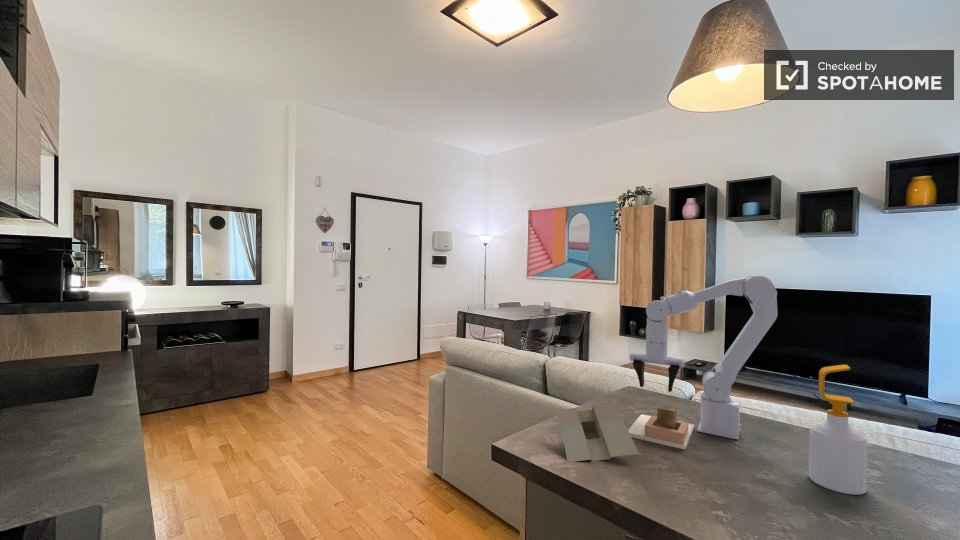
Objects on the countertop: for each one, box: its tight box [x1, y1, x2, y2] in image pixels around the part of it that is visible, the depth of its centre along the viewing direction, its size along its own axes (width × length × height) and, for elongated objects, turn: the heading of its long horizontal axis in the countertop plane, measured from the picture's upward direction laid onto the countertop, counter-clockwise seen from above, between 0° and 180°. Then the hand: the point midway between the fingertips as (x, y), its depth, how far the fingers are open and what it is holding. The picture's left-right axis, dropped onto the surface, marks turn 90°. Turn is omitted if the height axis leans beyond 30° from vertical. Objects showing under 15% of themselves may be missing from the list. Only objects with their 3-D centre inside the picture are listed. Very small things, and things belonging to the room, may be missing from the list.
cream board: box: [628, 414, 695, 451], centre depth 110 cm, size 14×17×1 cm
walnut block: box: [656, 404, 678, 430], centre depth 106 cm, size 4×4×7 cm
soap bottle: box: [808, 364, 868, 496], centre depth 84 cm, size 9×9×25 cm
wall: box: [556, 403, 639, 463], centre depth 100 cm, size 16×9×15 cm
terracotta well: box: [645, 415, 689, 445], centre depth 106 cm, size 9×9×3 cm
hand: (655, 388), depth 119 cm, fingers open, 7 cm apart
